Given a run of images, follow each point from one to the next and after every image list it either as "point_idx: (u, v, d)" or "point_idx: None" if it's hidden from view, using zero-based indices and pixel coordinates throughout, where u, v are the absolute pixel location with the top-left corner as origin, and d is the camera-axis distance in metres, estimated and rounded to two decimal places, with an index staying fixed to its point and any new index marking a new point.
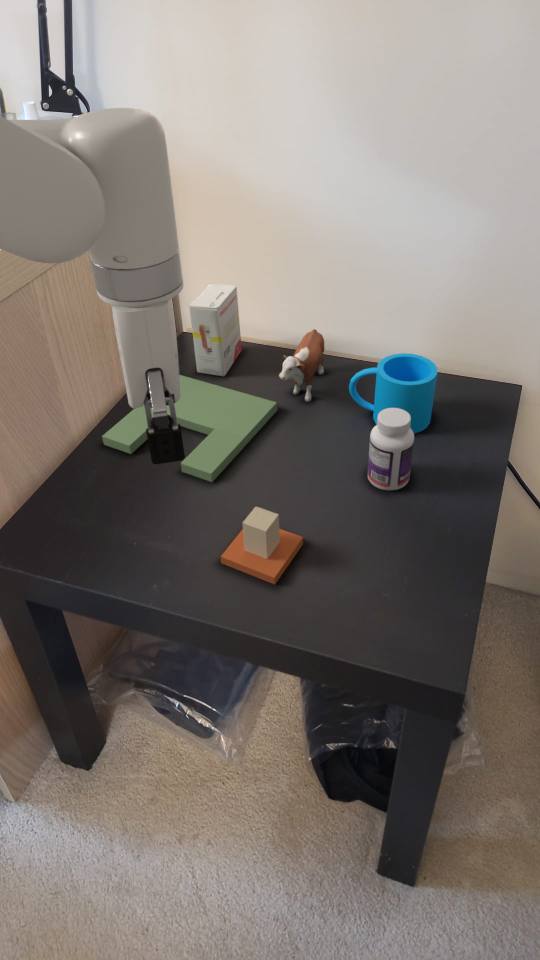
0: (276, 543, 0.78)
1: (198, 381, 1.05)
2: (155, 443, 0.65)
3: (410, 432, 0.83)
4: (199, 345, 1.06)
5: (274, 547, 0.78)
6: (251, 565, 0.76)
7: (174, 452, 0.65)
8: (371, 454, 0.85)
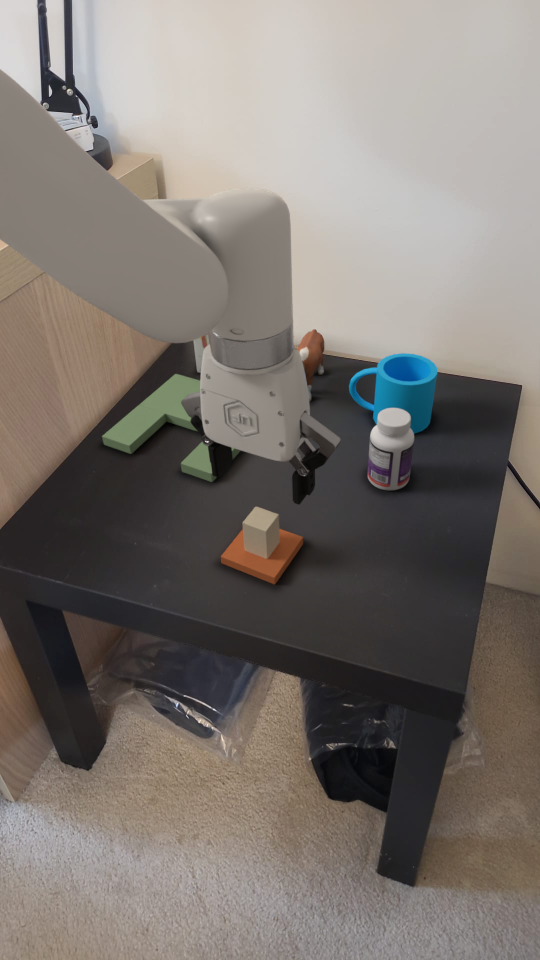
0: (276, 543, 0.78)
1: (198, 381, 1.05)
2: (301, 484, 0.68)
3: (410, 432, 0.83)
4: (199, 345, 1.06)
5: (274, 547, 0.78)
6: (251, 565, 0.76)
7: (314, 482, 0.69)
8: (371, 454, 0.85)
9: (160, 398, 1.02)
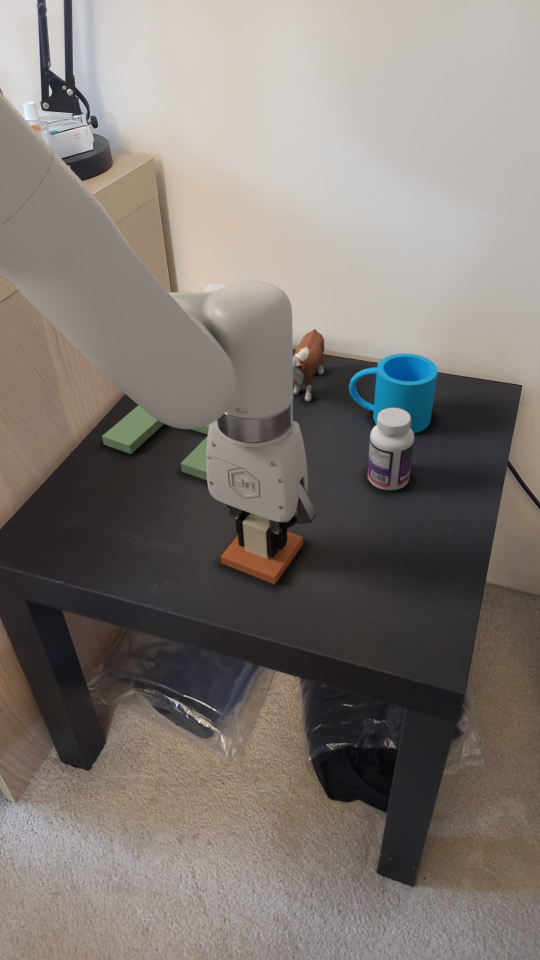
0: None
1: None
2: (274, 540, 0.75)
3: (410, 432, 0.83)
4: None
5: None
6: (251, 565, 0.76)
7: (286, 538, 0.77)
8: (371, 454, 0.85)
9: None
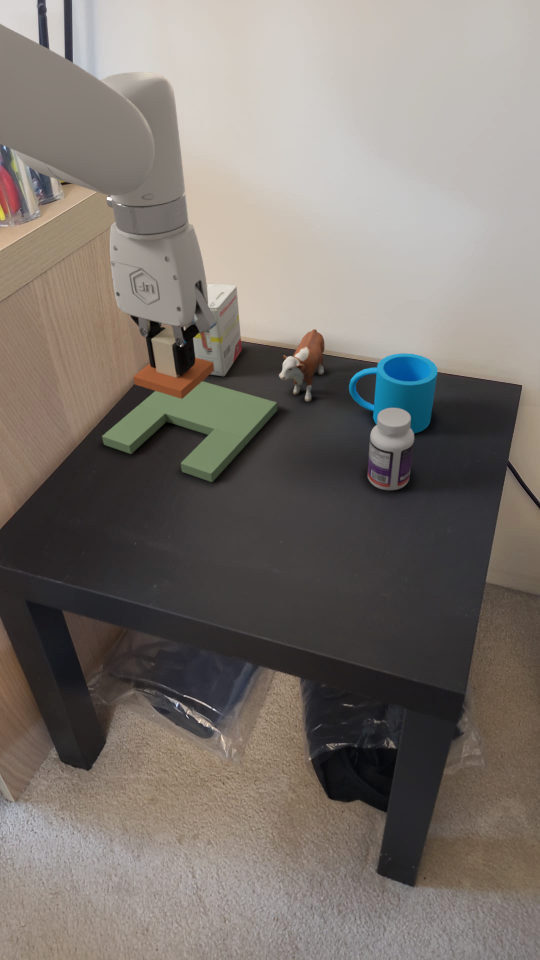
0: None
1: None
2: (180, 355, 0.80)
3: (410, 432, 0.83)
4: (199, 345, 1.06)
5: None
6: (160, 382, 0.81)
7: (194, 357, 0.81)
8: (371, 454, 0.85)
9: (160, 398, 1.02)
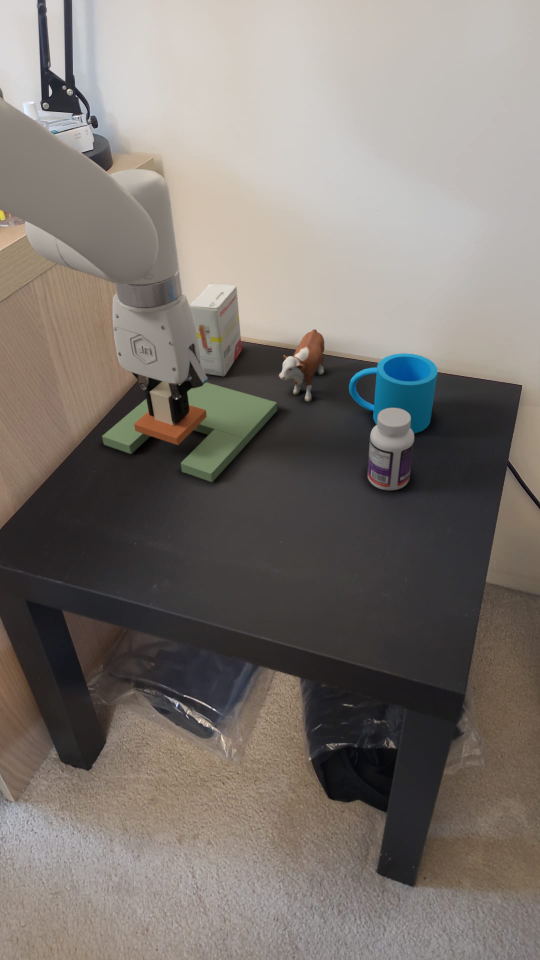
0: None
1: None
2: (176, 406, 0.89)
3: (410, 432, 0.83)
4: (199, 345, 1.06)
5: None
6: (158, 430, 0.90)
7: (188, 407, 0.90)
8: (371, 454, 0.85)
9: None
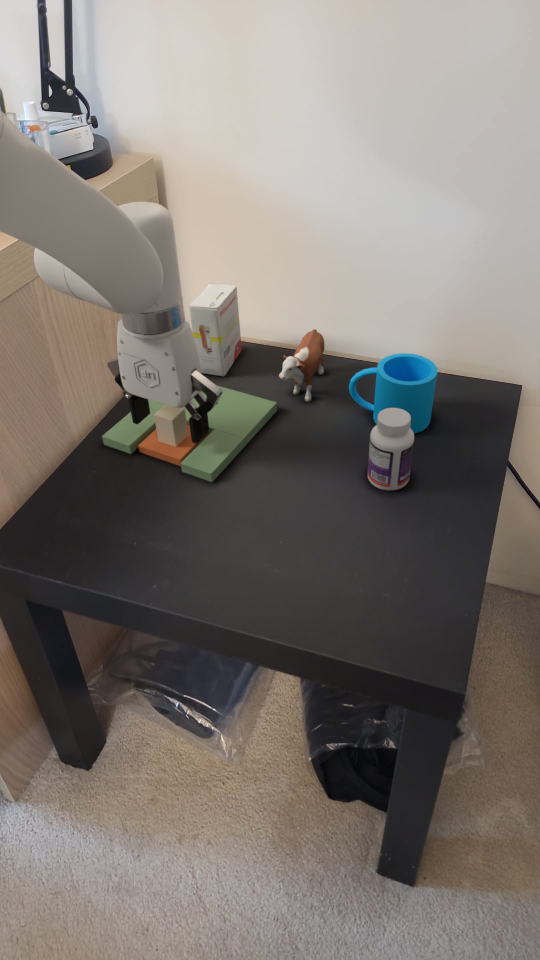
0: (184, 435, 0.94)
1: None
2: (196, 426, 0.89)
3: (410, 432, 0.83)
4: (199, 345, 1.06)
5: (182, 438, 0.94)
6: (162, 451, 0.92)
7: (208, 426, 0.90)
8: (371, 454, 0.85)
9: None
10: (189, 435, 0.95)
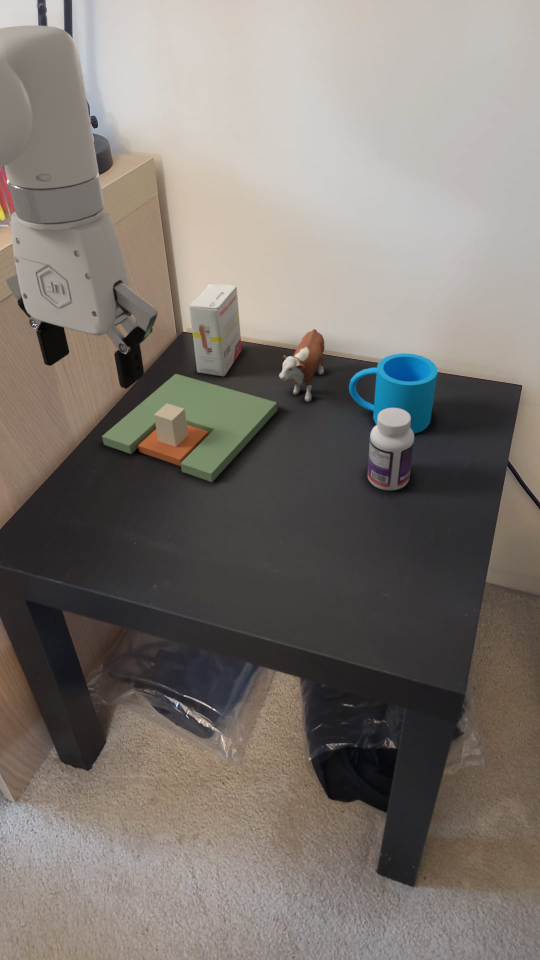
0: (184, 435, 0.94)
1: (198, 381, 1.05)
2: (125, 364, 0.66)
3: (410, 432, 0.83)
4: (199, 345, 1.06)
5: (182, 438, 0.94)
6: (162, 451, 0.92)
7: (142, 366, 0.67)
8: (371, 454, 0.85)
9: (160, 398, 1.02)
10: (189, 435, 0.95)
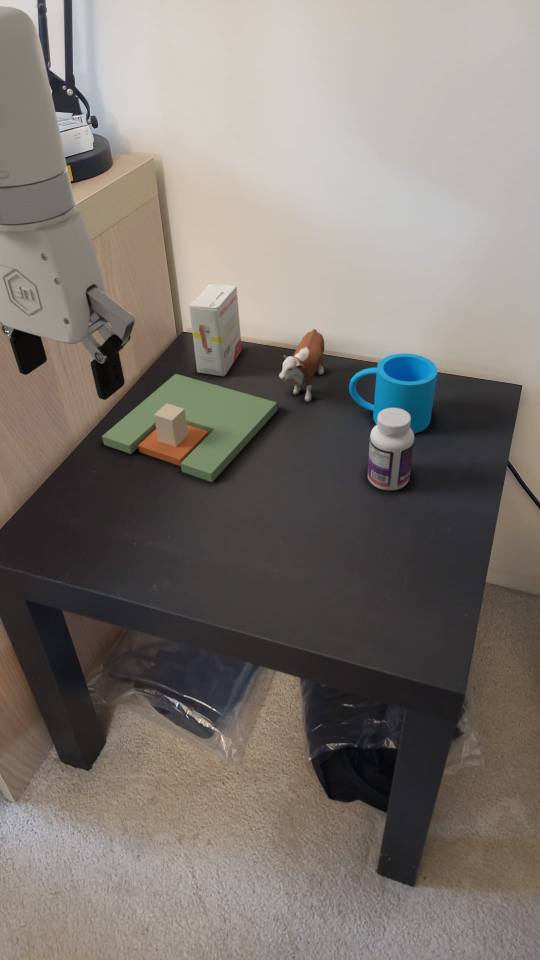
0: (184, 435, 0.94)
1: (198, 381, 1.05)
2: (102, 374, 0.61)
3: (410, 432, 0.83)
4: (199, 345, 1.06)
5: (182, 438, 0.94)
6: (162, 451, 0.92)
7: (121, 375, 0.63)
8: (371, 454, 0.85)
9: (160, 398, 1.02)
10: (189, 435, 0.95)
